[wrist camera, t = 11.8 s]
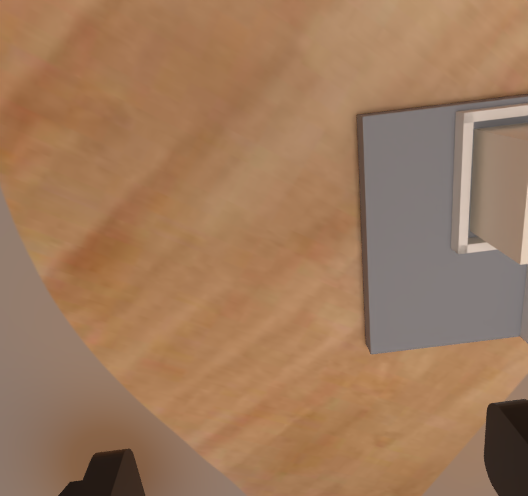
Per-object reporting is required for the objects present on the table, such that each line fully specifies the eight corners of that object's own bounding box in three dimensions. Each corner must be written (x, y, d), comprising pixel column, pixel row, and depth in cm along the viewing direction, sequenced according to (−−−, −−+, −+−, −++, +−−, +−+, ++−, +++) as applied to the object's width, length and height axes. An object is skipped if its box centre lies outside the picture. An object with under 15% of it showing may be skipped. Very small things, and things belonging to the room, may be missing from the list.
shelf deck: (356, 114, 39) (368, 118, 35) (543, 92, 39) (575, 93, 35) (365, 343, 47) (376, 366, 43) (520, 324, 47) (544, 345, 43)
